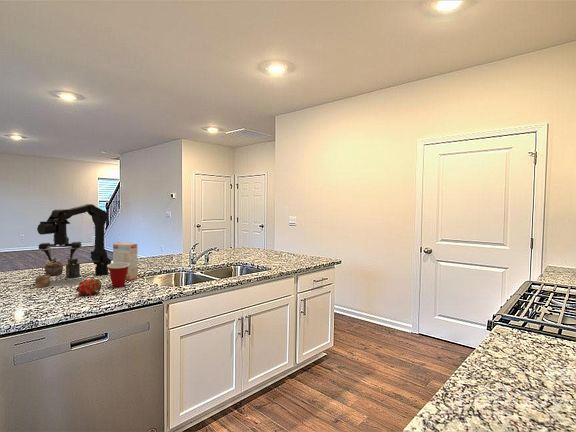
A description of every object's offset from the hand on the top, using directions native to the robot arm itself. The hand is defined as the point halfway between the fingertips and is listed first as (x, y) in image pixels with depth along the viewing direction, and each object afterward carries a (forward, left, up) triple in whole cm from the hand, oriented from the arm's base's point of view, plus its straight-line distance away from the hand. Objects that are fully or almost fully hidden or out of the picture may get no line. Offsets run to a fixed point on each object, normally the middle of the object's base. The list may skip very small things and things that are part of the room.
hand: (61, 261), depth 183 cm
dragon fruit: (-17, +27, -13) cm, 35 cm away
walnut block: (+7, +7, -12) cm, 15 cm away
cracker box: (-31, -4, -13) cm, 34 cm away
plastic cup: (-29, +14, -13) cm, 35 cm away
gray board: (0, +3, -13) cm, 13 cm away
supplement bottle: (-3, -11, -13) cm, 17 cm away
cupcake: (+10, -27, -13) cm, 32 cm away
